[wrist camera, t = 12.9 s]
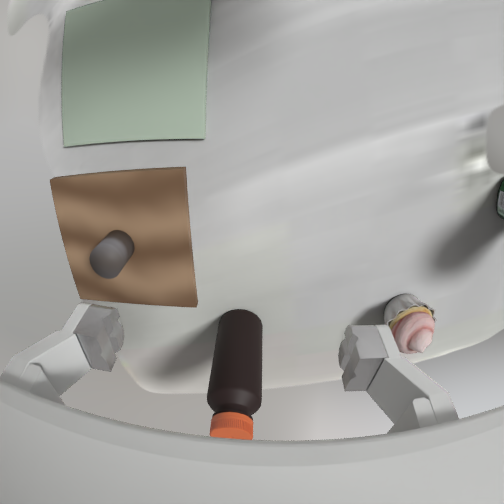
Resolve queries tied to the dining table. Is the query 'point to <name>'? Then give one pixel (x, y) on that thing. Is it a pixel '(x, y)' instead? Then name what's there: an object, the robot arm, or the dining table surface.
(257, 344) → the bottle
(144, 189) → the lid
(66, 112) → the mat
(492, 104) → the dining table surface
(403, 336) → the cupcake
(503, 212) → the coffee jar
